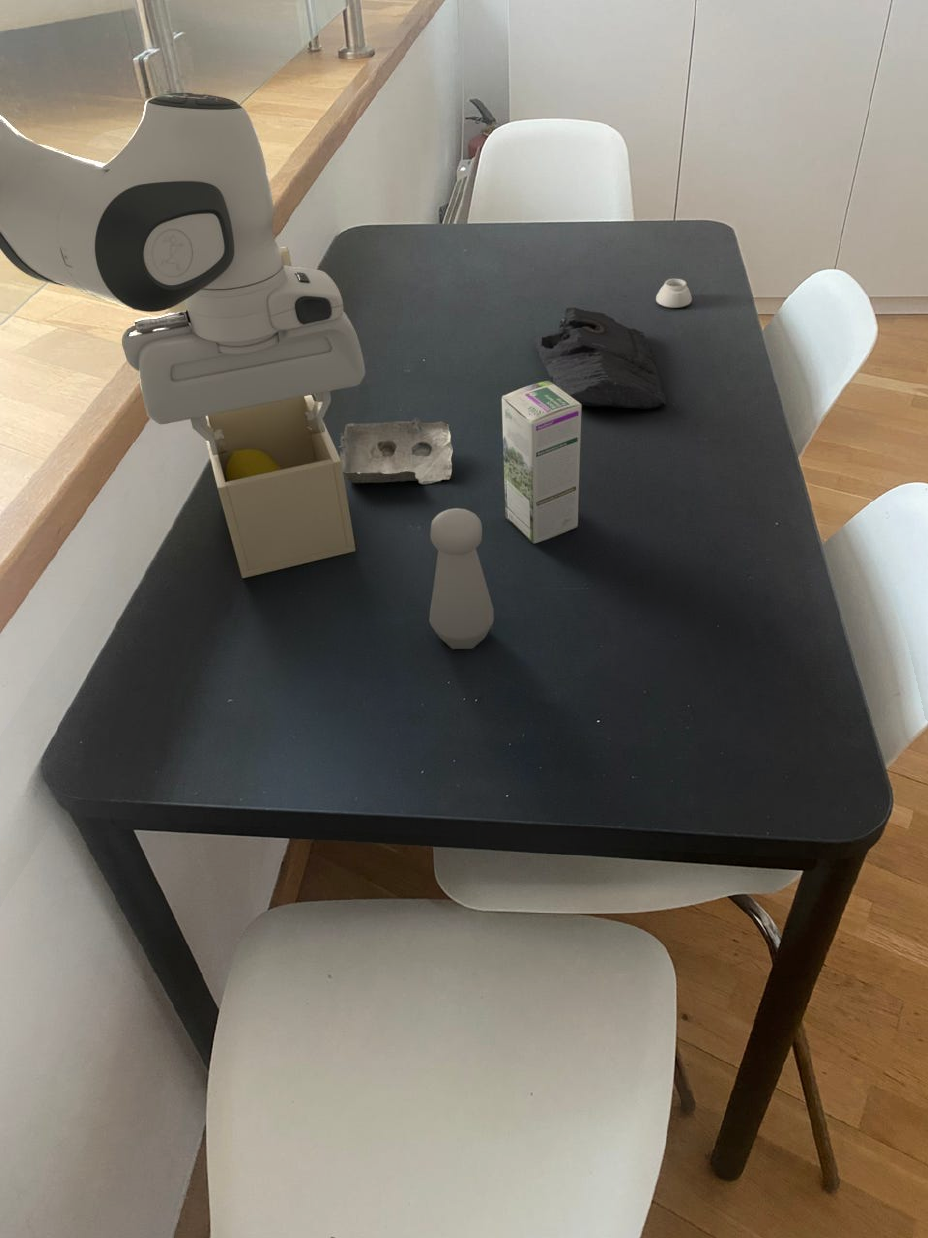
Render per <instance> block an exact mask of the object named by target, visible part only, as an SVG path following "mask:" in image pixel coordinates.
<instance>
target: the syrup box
mask: <svg viewBox="0 0 928 1238" xmlns="http://www.w3.org/2000/svg"><path fill="white" fill-rule="evenodd" d="M501 418H502V441H503V442H502V446H503V447H502V448H503V450H502V451H503V475H504V476H503V478H504V479H503V480H504V507H505V512H504V513H505V518H506V519H507V520H508V521H509V522H510V523H511V524H512V525H513V526H514V527H515V528H516V529H518V530H519V532H521V533H522V535H524V536H525V538H527V540H528V541H530V542H531V543H532V544H538V543H541V542H543V541H546V540H549V539H551V538H554V537H556V536H559V535H561V534H564V533H567V532H568V531H571V530H574V529H576V528H578V526H579V498H580V495H579V494H580V465H581V463H580V461H581V437H582V436H581V433H582V406H581V404H580V403H579V402H578V401H576V400H575V399H573V398H572V397H571V396H569V395H568V394H567V393H565V392H564V391H562V390H561V389H560V388H558V387H557V386H556V385H555V384H554V383H553V381H552V382H551V380H545V381H540V382H537V383H533V384H530V385H526V386H524V387H521V388H518V389H516V390H514V391H511V392H509V393H506V394H504V395H502V396H501Z"/></svg>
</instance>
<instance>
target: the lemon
mask: <svg viewBox="0 0 928 1238" xmlns="http://www.w3.org/2000/svg"><path fill="white" fill-rule="evenodd" d="M278 470H282V469H281V468H280V466H279V465H278V464H277V463H276V462H275V461H274V460H273V459H272V458H271V457H270V456H268V455H267V454H266V453H264V452H262V451H260V450H257V449H243V450H240V451H238V450H236V451H234V452H233V453H232V457H231V458H230V460H229V462H228V464H227V468H226V478H227V481H233V480H237V479H242V478H247V477H251V476H256V475H260V474H265V473H269V472H274V471H278Z"/></svg>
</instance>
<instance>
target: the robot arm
mask: <svg viewBox="0 0 928 1238" xmlns="http://www.w3.org/2000/svg"><path fill="white" fill-rule="evenodd" d="M274 218H275V207H274V201H273V195H272V190H271V184H270V179H269V175H268V170H267V165H266V161H265V158H264V154H263V149H262V146H261V142H260V140H259V136H258V133H257V131H256V128H255V126H254V124H253V121H252V119H251V117H250V115H249V114H248V112H247V110H246V109H245V108H244V107H243V106H242V105H240V104H238V102H236V101H235V100H233V99H230V98H227V97H223V96H218V95H211V94H206V93H203V94H202V93H201V94H200V93H193V92H170V93H169V92H168V93H161V94H157V95H156V96H153V97H151V98H149V99H147V100H146V101H145V104H144V111H143V116H142V119H141V121H140V123H139V124H138V126H137V128H136V130H135V132H134V133H133V135H132V136H131V138H130V139H129V140H128V141H127V143H126V144H125V145H124V146H123V148H121V150H120V151H119V152H118V153H117V154H116V155H114V157H112V158H111V159H110V160H108V161H107V162H106V163H102V162H99V161H94V160H91V159H86V158H82V157H79V156H77V155H75V154H72V153H70V152H66V151H63V150H60V149H58V148H54V147H52V146H48V145H45V144H41V143H37V142H35V141H33V140H32V139H30V138H28V137H26V136H24V135H23V134H21V133H20V132H19V131H18V130H17V129H16V128H15V127H13V126H12V124H11V123H10V122H8V120H6V119H5V118H4V117H3V116H2V115H1V114H0V251H1V252H2V253H3V255H4V256H5V257H6V258H7V259H8V261H10V263H11V264H12V265H14V266H15V267H16V268H17V269H18V270H20V271H21V272H22V273H24V274H26V275H27V276H29V277H31V278H34V279H35V280H39V281H41V282H44V283H49V284H53V285H58V286H63V287H68V288H71V289H72V290H76V291H79V292H81V293H83V294H87V295H89V296H92V297H94V298H97V299H100V300H103V301H106V302H109V303H112V304H115V305H117V306H121V307H124V308H127V309H131V310H135V311H140V312H145V313H156V312H163V311H166V310H170V308H171V307H173V306H175V305H177V304H179V303H181V302H182V301H184V300H185V304H186V308H187V310H186V311H183V312H178V313H167V314H164V315H162V316H157V317H151V318H150V317H145V318H140V319H137V320H135V321H134V324H133V325H131V326H129V327H128V328H126V329H125V331H124V333H123V334H122V338H121V346H122V349H123V351H124V355H125V359H126V361H127V363H128V365H129V366H130V367H131V368H132V369H134V370H136V371H138V375H139V384H140V390H141V394H142V399H143V403H144V407H145V411H146V412H145V413H146V415H147V418H149V419H150V420H151V421H153V422H154V423H156V424H157V425H169V424H172V423H179V422H183V421H188V420H190V423H191V427H192V429H193V430H194V431H196V433H198V435H200V436H201V437H202V438H203V439H204V440H205V439H206V440H207V441H209V444H210V447H211V451H212V455H218V454H222V453H226V452H228V451H227V447H226V443H225V439H224V435H223V432H222V429H219V430H213V429H211V428H210V427H209V426H208V425H207V420H206V416H208V415H213V414H218V413H223V412H228V411H233V410H238V409H243V408H248V407H253V406H258V405H263V404H268V403H273V402H278V401H283V400H288V399H293V398H298V397H303V396H308V395H312V396H314V398H315V400H314V402H315V404H314V406H313V409H312V410H311V411H307V412H304V414H305V419H306V425H307V429H308V431H309V434H310V435H312V434H317V433H322V432H325V429H324V424H325V422H324V417H325V416H326V413H327V411H328V409H329V407H330V404H331V402H332V394H331V392H332V391H337V390H342V389H346V388H347V389H348V388H353V387H357V386H359V385H360V384H361V382H362V381H363V379H364V378H365V376H366V366H365V361H364V355H363V351H362V348H361V344H360V340H359V337H358V335H357V332H356V329H355V328H354V326H353V324H352V322H351V320H350V318H349V317H348V315H347V313H346V312H345V309H344V301H343V297H342V294H341V292H340V289H339V288H338V286H337V284H336V282H335V281H334V280H333V279H332V277H330V275H329V274H327V272H326V271H324V270H320V269H316V268H315V269H314V268H305V267H299V266H293V265H291V266H287V265H284V263H283V258H282V255H281V252H280V250H279V248H280V247H279V246H278V244H277V242H276V238H275V234H274ZM189 323H191V324H190V325H189ZM323 422H324V423H323ZM206 440H205V441H206Z"/></svg>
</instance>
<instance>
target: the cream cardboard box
mask: <svg viewBox="0 0 928 1238" xmlns="http://www.w3.org/2000/svg"><path fill="white" fill-rule="evenodd" d="M314 404H315V399H314V397H313V395H308V396H303V397H298V398H293V399H288V400H283V401H278V402H273V403H268V404H263V405H258V406H253V407H248V408H243V409H238V410H233V411H228V412H223V413H218V414H213V415H208V416H206V420H207V425H208V426H209V427H210V428H211V429H213V430H219V429H222V432H223V435H224V439H225V443H226V447H227V451H228V452H226V453H222V454H218V455H212V451H211V447H210V444H209V441H207V440H206V439H205V438H204V440H205V444H206V447H207V451H208V456H209V460H210V464H211V467H212V468H211V469H212V471H213V475H214V479H215V484H216V487H217V491H218V494H219V498H220V502H221V506H222V509H223V514H224V516H225V521H226V525H227V528H228V531H229V534H230V538H231V542H232V546H233V549H234V553H235V557H236V560H237V564H238V568H239V572H240V576H241V578H242V579H246V578H250V577H254V576H258V575H262V574H267V573H270V572H274V571H278V570H283V569H288V568H291V567H295V566H299V565H304V564H308V563H312V562H316V561H320V560H324V559H325V560H326V559H329V558H332V557H336V556H341V555H346V554H349V553H353V552H356V545H355V544H356V543H355V539H354V533H353V532H354V531H353V526H352V525H353V524H352V519H351V514H350V507H349V500H348V495H347V489H346V483H345V475H344V472H343V469H342V463H341V459H340V455H339V453H338V451H337V448H336V446H335V444H334V442H333V439H332V437H331V434H330V433H329V431H328V429H327V426H326V423H325V422H324V421H323V423H324V429H325V432H322V433H317V434H312V435H310V434H309V431H308V429H307V425H306V419H305V414H304V412H307V411H311V410H312V409H313V406H314ZM243 449H257V450H260V451H262V452H264V453H266V454H267V455H268V456H270V457H271V458H272V459H273V460H274V461H275V462H276V463H277V464H278V465H279V466H280V468H281V469H282V470H278V471H274V472H269V473H265V474H260V475H256V476H251V477H247V478H242V479H237V480H233V481H227V478H226V468H227V464H228V462H229V460H230V458H231V457H232V453H233V452H234V451H236V450H238V451H240V450H243Z"/></svg>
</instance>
